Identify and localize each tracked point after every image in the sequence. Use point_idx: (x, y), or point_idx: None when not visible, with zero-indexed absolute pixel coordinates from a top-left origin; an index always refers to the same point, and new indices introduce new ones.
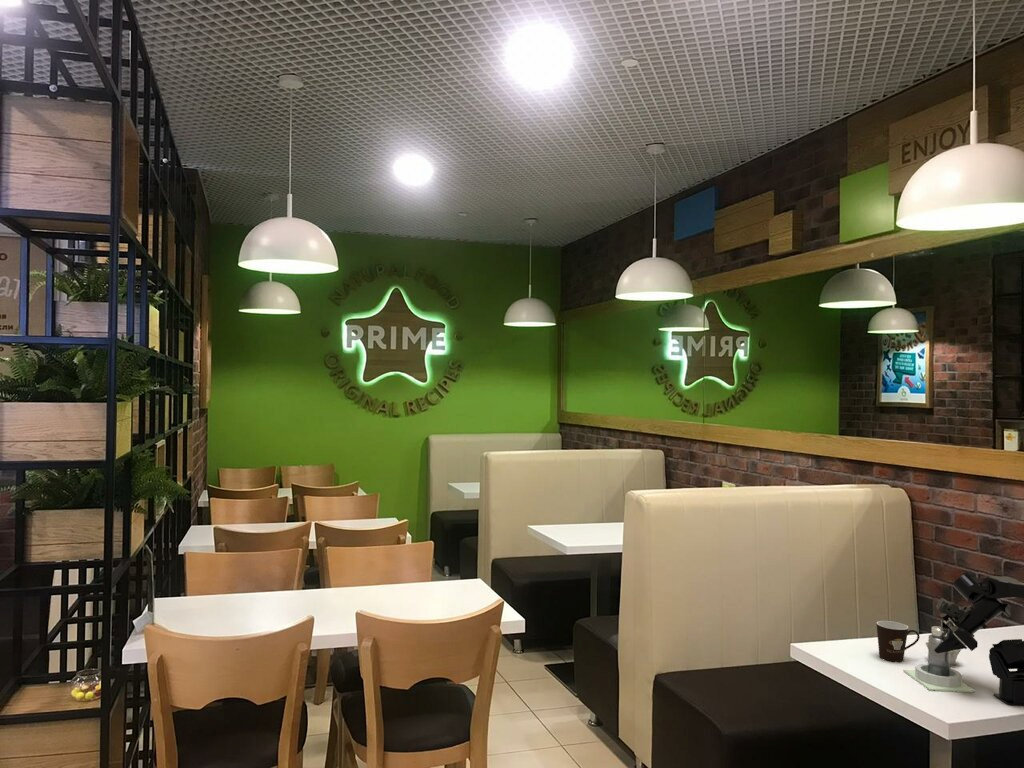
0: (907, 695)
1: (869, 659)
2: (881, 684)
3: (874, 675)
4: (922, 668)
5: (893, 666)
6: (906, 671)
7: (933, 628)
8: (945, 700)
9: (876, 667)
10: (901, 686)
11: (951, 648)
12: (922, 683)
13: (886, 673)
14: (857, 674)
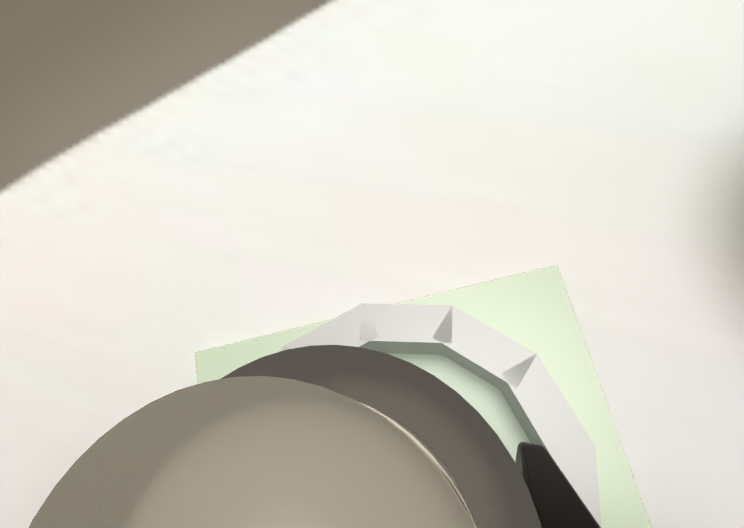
0: (107, 206)
1: (741, 86)
2: (249, 102)
3: (394, 84)
4: (490, 376)
5: (651, 221)
6: (519, 277)
7: (174, 400)
8: (54, 410)
9: (566, 110)
10: (242, 200)
11: None
12: (286, 331)
13: (461, 153)
14: (379, 5)
